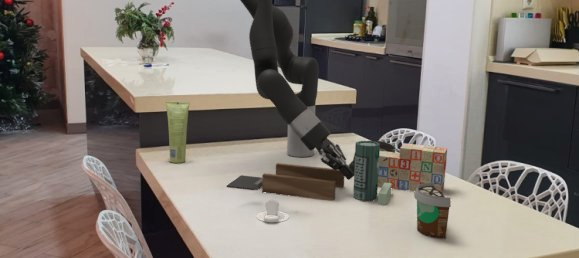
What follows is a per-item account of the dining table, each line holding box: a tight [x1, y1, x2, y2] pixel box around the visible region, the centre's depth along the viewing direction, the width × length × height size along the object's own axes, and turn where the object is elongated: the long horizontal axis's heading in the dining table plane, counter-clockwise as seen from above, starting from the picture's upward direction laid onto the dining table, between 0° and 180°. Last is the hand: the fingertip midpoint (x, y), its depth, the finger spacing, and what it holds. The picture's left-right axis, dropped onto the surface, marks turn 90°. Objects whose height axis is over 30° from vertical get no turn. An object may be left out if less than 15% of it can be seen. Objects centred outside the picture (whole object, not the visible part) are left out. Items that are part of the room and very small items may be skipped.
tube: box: [165, 100, 190, 164], centre depth 193 cm, size 6×5×20 cm
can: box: [352, 140, 380, 202], centre depth 161 cm, size 6×6×15 cm
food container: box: [413, 182, 452, 240], centre depth 139 cm, size 12×6×10 cm, turn 5°
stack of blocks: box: [378, 142, 448, 193], centre depth 172 cm, size 21×6×12 cm, turn 68°
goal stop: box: [377, 183, 392, 206], centre depth 162 cm, size 10×2×3 cm, turn 163°
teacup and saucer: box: [256, 199, 290, 223], centre depth 146 cm, size 9×8×4 cm
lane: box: [261, 162, 345, 202], centre depth 168 cm, size 13×20×5 cm, turn 73°
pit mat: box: [225, 174, 262, 191], centre depth 173 cm, size 11×9×2 cm
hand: (351, 177), depth 164 cm, fingers closed
